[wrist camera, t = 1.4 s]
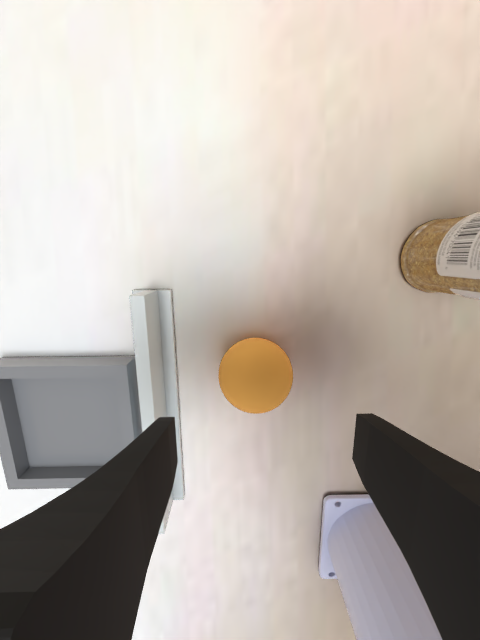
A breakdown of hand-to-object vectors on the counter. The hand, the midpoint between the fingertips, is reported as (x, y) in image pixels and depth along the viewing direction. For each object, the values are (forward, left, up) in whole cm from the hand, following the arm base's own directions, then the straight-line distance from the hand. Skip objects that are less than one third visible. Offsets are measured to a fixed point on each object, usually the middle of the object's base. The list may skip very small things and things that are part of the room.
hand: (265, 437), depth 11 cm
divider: (+6, +3, -8) cm, 11 cm away
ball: (0, 0, -6) cm, 6 cm away
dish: (+12, +4, -8) cm, 16 cm away
